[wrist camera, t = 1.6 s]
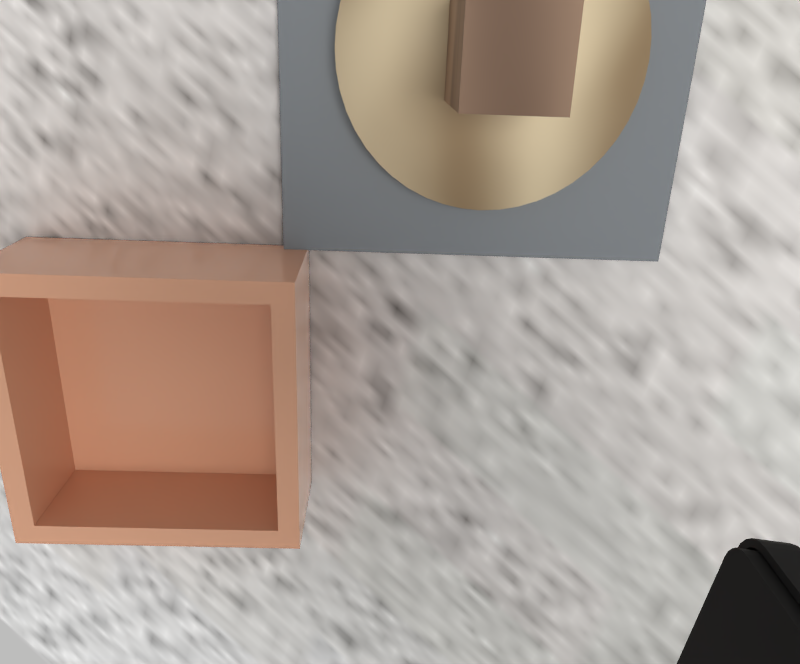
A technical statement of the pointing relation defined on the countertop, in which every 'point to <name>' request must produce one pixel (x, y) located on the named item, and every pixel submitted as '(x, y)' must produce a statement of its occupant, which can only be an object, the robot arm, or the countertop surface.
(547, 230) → the mat
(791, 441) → the countertop surface
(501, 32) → the lid
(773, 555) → the robot arm
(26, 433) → the salmon open box
